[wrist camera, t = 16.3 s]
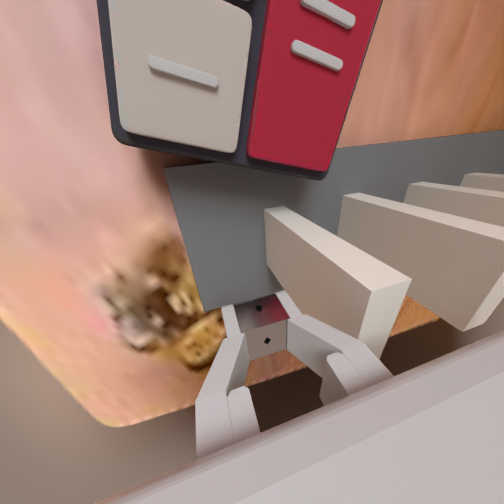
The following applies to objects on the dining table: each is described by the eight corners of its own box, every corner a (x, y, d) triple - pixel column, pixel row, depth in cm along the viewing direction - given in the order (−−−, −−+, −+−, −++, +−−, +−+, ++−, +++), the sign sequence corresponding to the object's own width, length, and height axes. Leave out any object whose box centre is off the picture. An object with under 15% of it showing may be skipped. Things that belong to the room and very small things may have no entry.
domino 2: (393, 234, 20) (548, 296, 11) (408, 184, 17) (622, 215, 9) (405, 231, 20) (565, 290, 12) (422, 181, 18) (640, 209, 9)
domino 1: (266, 264, 17) (346, 379, 8) (263, 208, 14) (371, 291, 6) (283, 260, 17) (376, 366, 9) (283, 205, 15) (411, 278, 6)
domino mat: (164, 167, 12) (162, 168, 11) (568, 122, 21) (583, 121, 20) (203, 305, 18) (204, 312, 17) (506, 225, 27) (515, 227, 26)
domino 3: (335, 248, 18) (462, 332, 10) (342, 195, 16) (521, 245, 7) (349, 244, 19) (484, 323, 10) (359, 192, 16) (547, 237, 8)
